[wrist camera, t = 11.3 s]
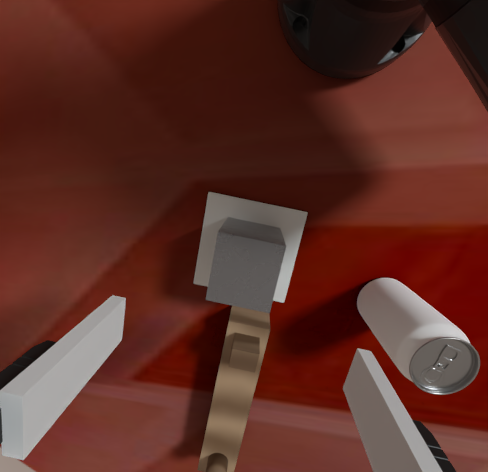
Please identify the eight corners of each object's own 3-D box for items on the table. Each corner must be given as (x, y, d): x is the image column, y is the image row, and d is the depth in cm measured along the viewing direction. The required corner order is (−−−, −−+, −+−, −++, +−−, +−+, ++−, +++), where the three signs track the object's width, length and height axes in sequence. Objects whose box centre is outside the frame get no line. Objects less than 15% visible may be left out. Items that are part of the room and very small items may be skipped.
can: (346, 310, 35) (389, 381, 23) (372, 267, 33) (433, 320, 21) (389, 330, 35) (454, 410, 23) (418, 289, 33) (503, 352, 22)
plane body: (232, 304, 35) (225, 336, 29) (269, 312, 35) (271, 346, 28) (203, 442, 41) (192, 495, 34) (234, 448, 41) (229, 503, 34)
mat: (209, 191, 32) (208, 191, 32) (307, 212, 32) (307, 212, 31) (193, 282, 35) (193, 283, 35) (283, 301, 35) (284, 302, 34)
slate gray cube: (228, 216, 32) (217, 231, 24) (280, 227, 32) (286, 246, 24) (218, 270, 34) (205, 299, 26) (267, 280, 34) (269, 313, 26)
